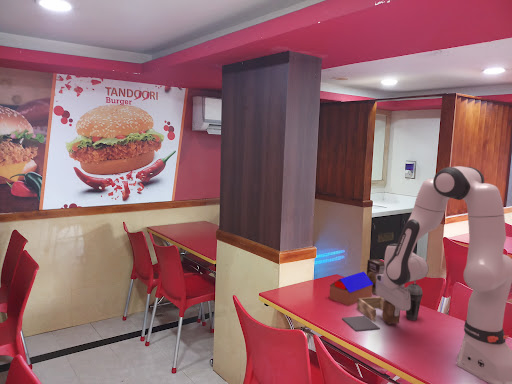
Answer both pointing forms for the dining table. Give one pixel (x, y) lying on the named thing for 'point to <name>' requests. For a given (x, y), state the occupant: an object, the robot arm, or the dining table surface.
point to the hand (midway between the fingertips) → (391, 312)
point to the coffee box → (374, 271)
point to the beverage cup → (414, 301)
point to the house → (351, 288)
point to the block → (389, 313)
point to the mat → (360, 323)
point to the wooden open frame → (370, 306)
